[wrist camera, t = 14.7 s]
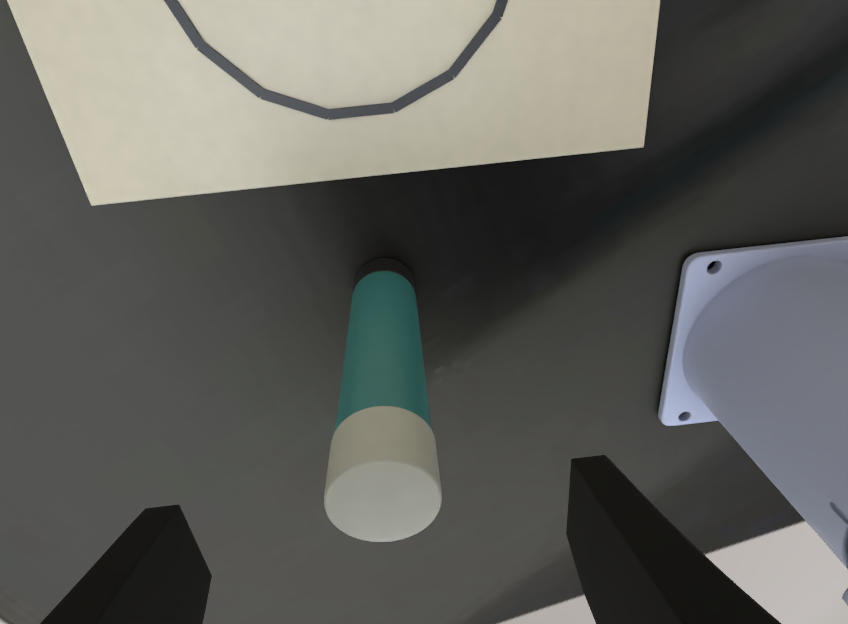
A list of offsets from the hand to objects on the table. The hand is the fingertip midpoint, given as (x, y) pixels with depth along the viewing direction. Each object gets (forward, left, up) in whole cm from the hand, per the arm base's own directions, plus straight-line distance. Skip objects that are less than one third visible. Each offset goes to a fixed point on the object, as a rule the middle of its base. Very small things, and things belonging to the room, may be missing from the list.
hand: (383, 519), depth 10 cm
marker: (0, 0, -10) cm, 10 cm away
